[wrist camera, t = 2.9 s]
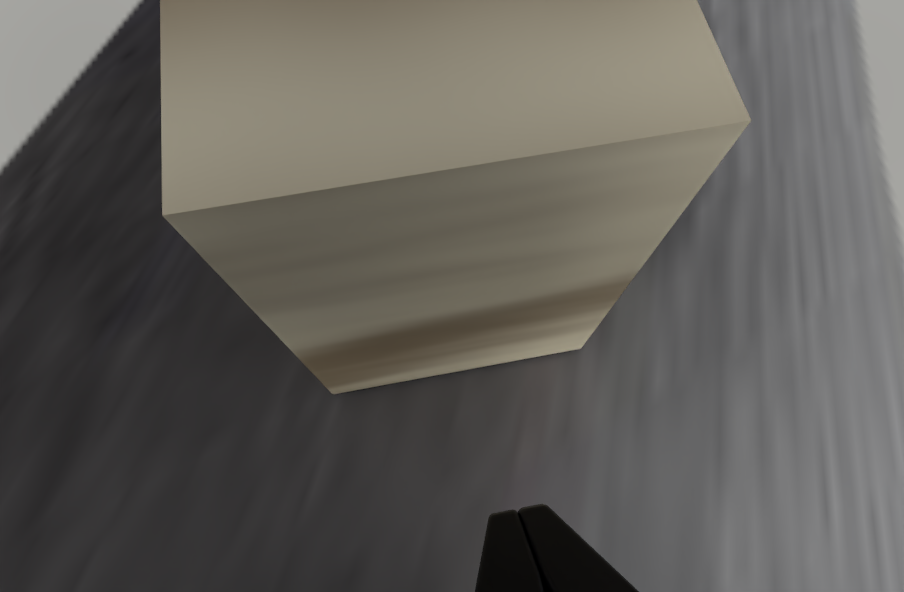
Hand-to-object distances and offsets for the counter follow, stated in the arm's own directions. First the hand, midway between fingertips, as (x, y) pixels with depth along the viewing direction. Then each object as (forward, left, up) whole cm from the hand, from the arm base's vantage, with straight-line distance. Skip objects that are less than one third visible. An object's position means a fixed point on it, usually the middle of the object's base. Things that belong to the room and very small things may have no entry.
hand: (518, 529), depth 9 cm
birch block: (+7, 0, -7) cm, 9 cm away
